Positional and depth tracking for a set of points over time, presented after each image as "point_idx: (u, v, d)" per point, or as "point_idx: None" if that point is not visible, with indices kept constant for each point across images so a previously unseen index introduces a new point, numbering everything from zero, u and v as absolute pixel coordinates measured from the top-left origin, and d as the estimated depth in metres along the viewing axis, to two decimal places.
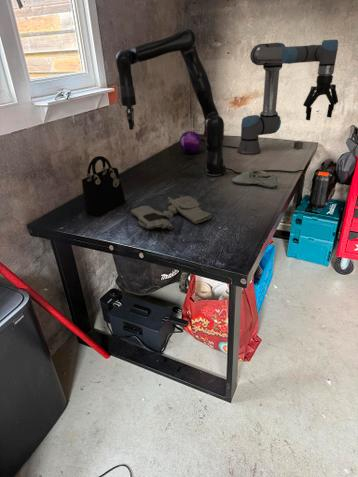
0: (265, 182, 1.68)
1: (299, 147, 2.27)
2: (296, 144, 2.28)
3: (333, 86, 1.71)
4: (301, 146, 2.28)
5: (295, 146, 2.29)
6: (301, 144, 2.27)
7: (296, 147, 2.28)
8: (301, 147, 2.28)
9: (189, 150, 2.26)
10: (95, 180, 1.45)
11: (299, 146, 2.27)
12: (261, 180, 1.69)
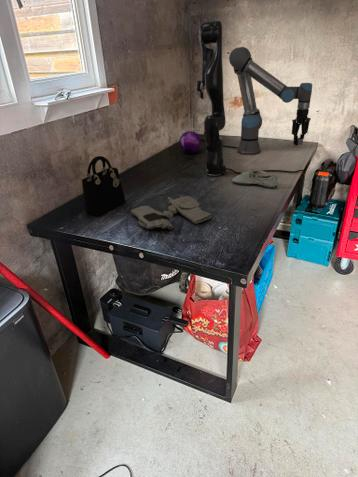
0: (265, 182, 1.68)
1: (299, 143, 2.26)
2: None
3: None
4: (301, 142, 2.27)
5: None
6: (301, 140, 2.26)
7: None
8: (301, 143, 2.27)
9: (189, 150, 2.26)
10: (95, 180, 1.45)
11: (299, 142, 2.26)
12: (261, 180, 1.69)
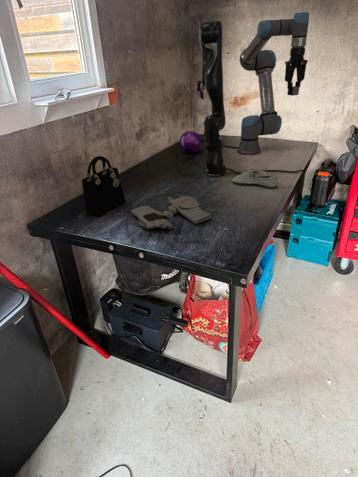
0: (265, 182, 1.68)
1: (294, 93, 1.85)
2: None
3: None
4: (297, 92, 1.85)
5: None
6: (297, 89, 1.84)
7: None
8: (297, 93, 1.86)
9: (189, 150, 2.26)
10: (95, 180, 1.45)
11: (294, 91, 1.85)
12: (261, 180, 1.69)
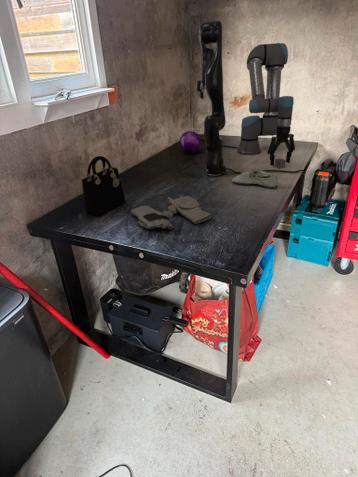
0: (265, 182, 1.68)
1: (281, 166, 1.95)
2: (277, 162, 1.96)
3: None
4: (283, 164, 1.96)
5: (276, 164, 1.97)
6: (283, 162, 1.95)
7: (278, 166, 1.96)
8: (283, 166, 1.96)
9: (189, 150, 2.26)
10: (95, 180, 1.45)
11: (281, 164, 1.95)
12: (261, 180, 1.69)
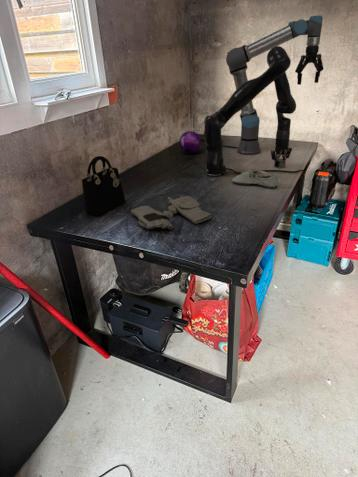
0: (265, 182, 1.68)
1: (281, 166, 1.95)
2: None
3: None
4: (283, 164, 1.96)
5: None
6: (283, 162, 1.95)
7: (278, 166, 1.96)
8: (283, 166, 1.96)
9: (189, 150, 2.26)
10: (95, 180, 1.45)
11: (281, 164, 1.95)
12: (261, 180, 1.69)
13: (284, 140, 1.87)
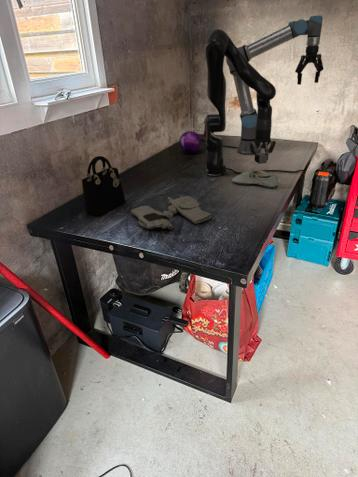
0: (265, 182, 1.68)
1: (261, 161, 1.69)
2: None
3: None
4: (264, 160, 1.69)
5: None
6: (264, 157, 1.69)
7: (258, 161, 1.70)
8: (264, 161, 1.70)
9: (189, 150, 2.26)
10: (95, 180, 1.45)
11: (261, 160, 1.69)
12: (261, 180, 1.69)
13: (263, 131, 1.61)
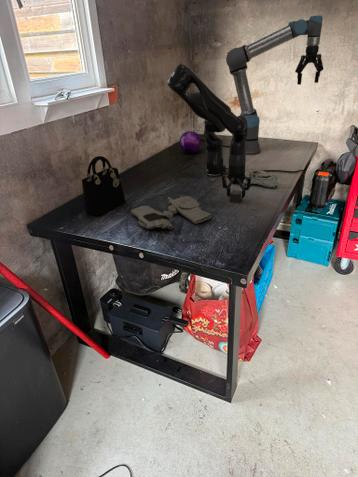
0: (265, 182, 1.68)
1: (233, 199, 1.56)
2: None
3: None
4: (236, 199, 1.56)
5: None
6: (236, 196, 1.55)
7: None
8: (236, 200, 1.56)
9: (189, 150, 2.26)
10: (95, 180, 1.45)
11: (232, 198, 1.56)
12: (261, 180, 1.69)
13: (232, 167, 1.48)
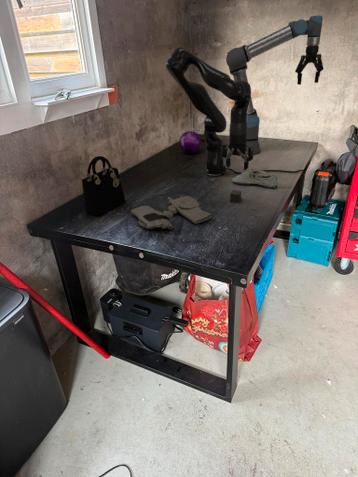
0: (265, 182, 1.68)
1: (233, 199, 1.56)
2: None
3: None
4: (236, 199, 1.56)
5: None
6: (236, 196, 1.55)
7: None
8: (236, 200, 1.56)
9: (189, 150, 2.26)
10: (95, 180, 1.45)
11: (232, 198, 1.56)
12: (261, 180, 1.69)
13: (231, 135, 1.41)
